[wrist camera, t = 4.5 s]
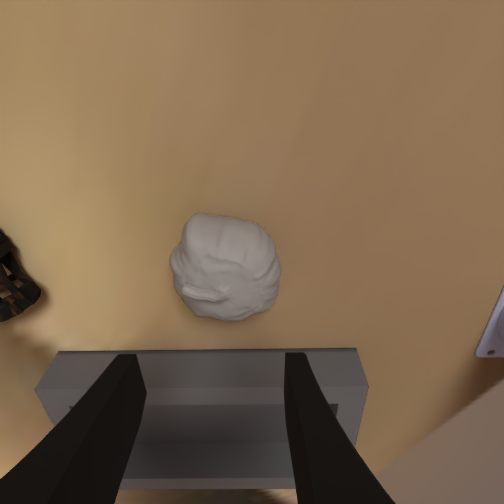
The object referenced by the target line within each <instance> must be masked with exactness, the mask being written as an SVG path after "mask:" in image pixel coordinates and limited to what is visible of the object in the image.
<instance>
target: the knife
mask: <svg viewBox="0 0 504 504" xmlns="http://www.w3.org/2000/svg"><path fill="white" fill-rule="evenodd" d="M6 238H7V236H6V235H5V234H4V233H3V234H1V233H0V293H1V292H3V291H4V290H6V289H8V290H9V291H10V292H11V293H12V294H11V295H9V296H7V297H5V298H3V299H2V298H1V297H0V322H3V321H6V320H8V319H10V318H12V317H14V316H16V315H19V314H21V313H22V312H24V310H25V309H27V308H28V307H29V306H31V305H33V304H34V303H35V302H36V301H37V300H38V299H39V297H40V296H41V289H40V288H39V287H38V286H37V285H36V284H35V283H34V282H33V281H32V280H30V279H29V278H28V277H27V276H26V275H25V274H24V273H23V272H22V271H21V270H20V268H19V266H18V264H17V262H16V260H15V258H14V256H13V254H12V252H11V249H12V248H14V246H13V245H12V244H11V243H10V242H9V241H8V240H7V239H6ZM1 263H2V264H3V265H4V266H5V267H6V268H7V269H8V270H10V271H11V272H12V273H13V274H11V275H9V276H8V275H7V273H6V271H5V269H4V267H3V266H2V264H1ZM17 278H18V279H19V280H20V281H21V282H22V283H23V285H21V286H20V287H19V288H18V287H17V286H16V285H15V284H14V283H13V282H12V281H14V280H16V279H17Z"/></svg>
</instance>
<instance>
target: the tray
mask: <svg viewBox="0 0 504 504" xmlns="http://www.w3.org/2000/svg"><path fill="white" fill-rule="evenodd" d="M285 352H304V353H305V354H306V355H307V358H308V361H309V364H310V366H311V369H312V371H313V373H314V376H315V378H316V380H317V382H318V384H319V386H320V389H321V391H322V393H323V394H324V396H325V398H326V400H327V402H328V404H329V406H330V408H331V409H332V411H333V413H334V415H335V417H336V418H337V420H338V422H339V423H340V425H341V427H342V428H343V430H344V432H345V433H346V435H347V437H348V438H349V440H350V441H351V443H352V444H353V446H354V448H355V444H356V440H357V436H358V431H359V427H360V423H361V418H362V414H363V409H364V405H365V401H366V396H367V392H368V388H369V385H368V382H367V379H366V376H365V373H364V370H363V367H362V364H361V361H360V358H359V355H358V352H357V349H356V348H313V349H228V350H143V351H59V352H58V353H57V355H56V356H55V358H54V360H53V361H52V363H51V364H50V366H49V367H48V369H47V371H46V372H45V374H44V375H43V377H42V378H41V380H40V381H39V383H38V385H37V386H36V388H35V389H34V390H35V392H36V394H37V395H38V397H39V399H40V401H41V403H42V405H43V407H44V408H45V410H46V412H47V414H48V416H49V418H50V420H51V421H52V423H53V425H54V427H55V426H56V425H57V424H58V423H59V422H60V421H61V420H62V419H63V418H64V416H65V415H66V414H67V413H68V412H69V411H70V410H71V409H72V408H73V406H74V405H75V404H76V403H77V402H78V401H79V400H80V399H81V397H82V396H83V395H84V394H85V393H86V392H87V391H88V389H89V388H90V387H91V386H92V385H93V383H94V382H95V381H96V380H97V379H98V377H99V376H100V375H101V374H102V373H103V371H104V370H105V369H106V368H107V367H108V365H109V364H110V363H111V362H112V361H113V359H114V358H115V357H116V356H117V355H118V354H136V355H137V359H138V362H139V366H140V370H141V373H142V377H143V380H144V384H145V388H146V391H147V395H146V400H145V405H144V410H143V415H142V419H141V424H140V427H139V430H138V433H137V436H136V439H135V442H134V445H133V448H132V451H131V454H130V457H129V460H128V463H127V466H126V469H125V472H124V475H123V478H122V481H121V484H120V487H119V489H296V486H295V480H294V474H293V467H292V461H291V454H290V448H289V442H288V435H287V429H286V421H285V406H284V371H285Z"/></svg>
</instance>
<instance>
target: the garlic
mask: <svg viewBox="0 0 504 504" xmlns="http://www.w3.org/2000/svg"><path fill="white" fill-rule="evenodd" d="M169 262H170V267H171V269H172V272H173V274H174V287H175V289H176V291H177V293H178V294H179V295H180V296H181V298H182V299H183V301H184V302H185V303H186V305H187V306H188V307H189V308H190V309H191V310H192V312H193V313H194V314H195V315H197V316H200V317H212V318H214V319H219V320H228V321H243V320H244V319H245V318H247V317H248V316H251V315H253V314H255V313H259V312H265V311H268V310H269V309H270V308H271V307H272V306H273V304H274V302H275V300H276V297H277V295H278V291H279V278H280V275H281V264H280V261H279V259H278V256H277V254H276V247H275V243H274V241H273V239H272V237H271V236H270V235H269V234H268V233H267V231H266V230H265V229H264V228H262V227H261V226H259V225H258V224H256V223H254V222H252V221H247V220H241V219H238V218H233V217H228V216H221V215H210V214H206V213H197V214H194V215H193V216H191V217H190V219H189V220H188V222H187V223H186V224H185V226H184V227H183V231H182V241H181V242H180V243H179V245H178V246H177V247H176V248H174V250H173V251H172V253H171V255H170V261H169Z"/></svg>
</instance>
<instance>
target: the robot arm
mask: <svg viewBox="0 0 504 504" xmlns="http://www.w3.org/2000/svg"><path fill="white" fill-rule="evenodd" d="M490 350H494V352H493V353H491V354H487V352H488V351H490ZM475 355H476V356H477V357H504V286H503V288H502V291H501V293H500V295H499V297H498V300H497V302H496V304H495V307H494V309H493V311H492V313H491V316H490V318H489V320H488V323H487V325H486V327H485V329H484V332H483V334H482V336H481V339H480V341H479V343H478V346H477V348H476V350H475ZM146 395H147V391H146V388H145V384H144V380H143V377H142V373H141V370H140V366H139V362H138V359H137V355H136V354H118V355H117V356H116V357H115V358H114V359H113V361H112V362H111V363H110V364H109V365H108V367H107V368H106V369H105V370H104V371H103V373H102V374H101V375H100V376H99V377H98V379H97V380H96V381H95V382H94V383H93V385H92V386H91V387H90V388H89V389H88V391H87V392H86V393H85V394H84V395H83V396H82V397H81V399H80V400H79V401H78V402H77V403H76V404H75V405H74V406H73V408H72V409H71V410H70V411H69V412H68V413H67V414H66V415H65V416H64V418H63V419H62V420H61V421H60V422H59V423H58V424H57V425H56V426H55V427H54V428H53V429H52V430H51V431H50V432H49V433H48V434H47V435H46V436H45V438H44V439H43V440H42V441H41V442H40V443H39V444H38V445H37V446H36V447H35V448H34V449H32V450H31V451H30V452H29V453H28V454H27V455H26V456H25V457H24V458H23V459H22V460H21V461H20V462H19V463H18V464H17V465H16V466H15V467H13V468H12V469H11V470H10V471H9V472H8V473H7V474H6V475H5V476H3V477H2V478H1V479H0V504H114V503H115V499H116V496H117V493H118V490H119V487H120V484H121V481H122V478H123V475H124V472H125V469H126V466H127V463H128V460H129V457H130V454H131V451H132V448H133V445H134V442H135V439H136V436H137V433H138V430H139V427H140V424H141V419H142V415H143V410H144V405H145V400H146ZM284 406H285V421H286V429H287V435H288V442H289V448H290V454H291V461H292V467H293V474H294V480H295V486H296V493H297V500H298V504H395V502H394V501H393V500H392V499H391V497H390V496H389V495H388V494H387V493H386V491H385V490H384V489H383V487H382V486H381V484H380V483H379V482H378V480H377V479H376V478H375V476H374V475H373V474H372V472H371V471H370V469H369V468H368V467H367V465H366V464H365V462H364V461H363V459H362V458H361V457H360V455H359V454H358V452H357V451H356V449H355V448H354V446H353V444H352V443H351V441H350V440H349V438H348V437H347V435H346V433H345V432H344V430H343V428H342V427H341V425H340V423H339V422H338V420H337V418H336V417H335V415H334V413H333V411H332V409H331V408H330V406H329V404H328V402H327V400H326V398H325V396H324V394H323V393H322V391H321V389H320V386H319V384H318V382H317V380H316V378H315V376H314V373H313V371H312V369H311V366H310V364H309V361H308V358H307V355H306V354H305V353H304V352H285V371H284Z"/></svg>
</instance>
